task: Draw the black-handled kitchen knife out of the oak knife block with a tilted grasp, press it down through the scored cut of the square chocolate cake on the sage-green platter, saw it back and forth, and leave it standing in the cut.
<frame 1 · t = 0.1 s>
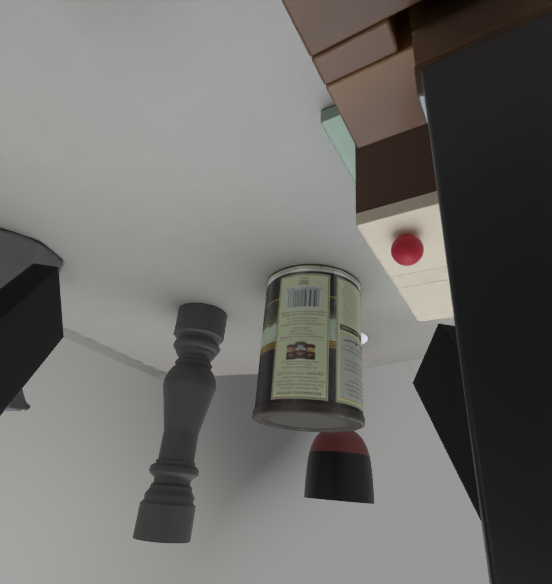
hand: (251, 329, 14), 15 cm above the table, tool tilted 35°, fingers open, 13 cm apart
cake platter: (488, 158, 25), on the table
candle holder: (203, 312, 52), on the table
cake: (490, 169, 25), resting on cake platter
coffee can: (313, 287, 43), on the table
coffeepot: (7, 246, 41), on the table
wineglass: (340, 337, 55), on the table
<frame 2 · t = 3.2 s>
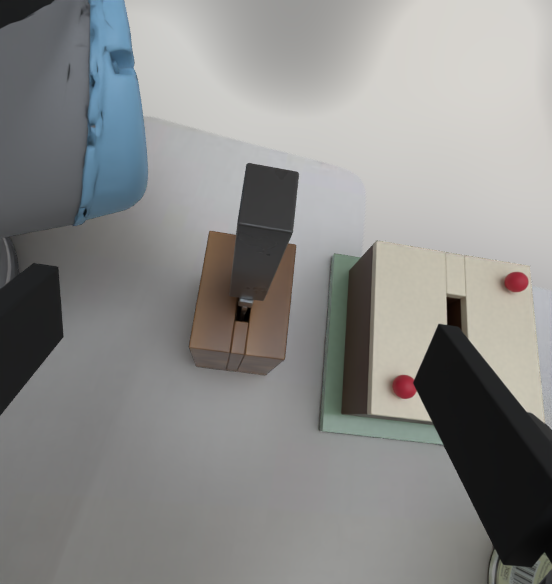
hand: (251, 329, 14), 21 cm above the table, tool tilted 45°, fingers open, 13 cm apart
cake platter: (409, 349, 37), on the table
cake: (414, 347, 36), resting on cake platter
knife block: (237, 325, 35), on the table
knife: (238, 323, 34), point 1 cm above the table, touching knife block
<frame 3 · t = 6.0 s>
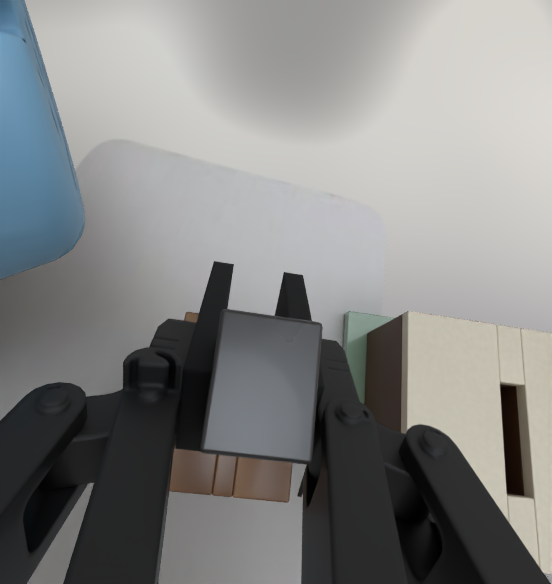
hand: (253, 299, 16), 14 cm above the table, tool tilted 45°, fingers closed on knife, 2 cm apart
cake platter: (442, 432, 30), on the table
cake: (449, 432, 29), resting on cake platter
knife block: (228, 406, 28), on the table
knife: (228, 406, 27), point 1 cm above the table, touching gripper, knife block
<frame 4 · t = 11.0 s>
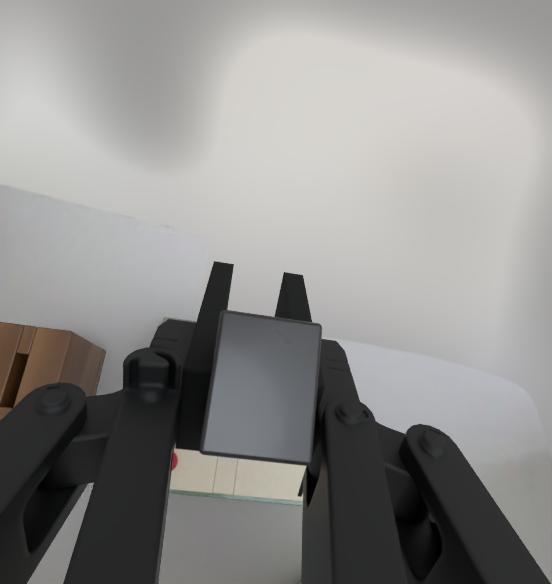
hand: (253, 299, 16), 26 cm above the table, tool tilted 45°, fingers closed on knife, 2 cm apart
cake platter: (230, 407, 40), on the table
cake: (231, 407, 39), resting on cake platter
knife block: (63, 388, 38), on the table
knife: (228, 406, 27), point 13 cm above the table, touching gripper
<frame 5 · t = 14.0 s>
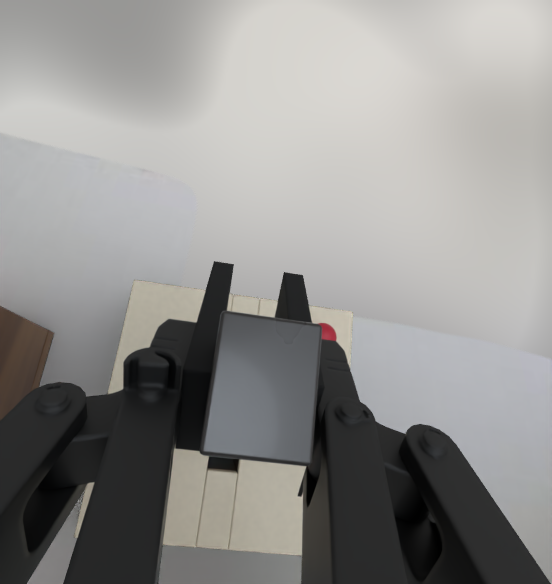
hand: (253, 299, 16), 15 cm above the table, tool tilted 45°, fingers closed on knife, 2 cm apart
cake: (227, 411, 28), resting on cake platter
knife: (228, 406, 27), point 2 cm above the table, touching gripper
when the fingers open (14 cm above the table, at t = 15.9 s): knife stays where it is, resting on cake platter.
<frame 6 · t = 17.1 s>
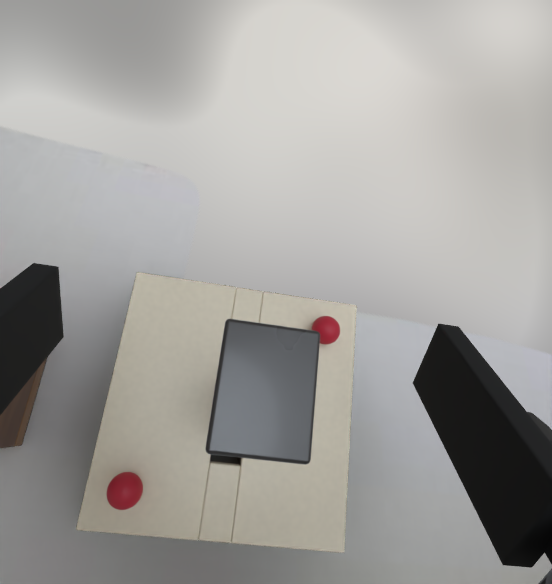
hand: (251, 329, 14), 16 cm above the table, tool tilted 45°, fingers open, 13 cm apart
cake: (229, 406, 28), resting on cake platter
knife: (230, 407, 28), point 1 cm above the table, touching cake platter
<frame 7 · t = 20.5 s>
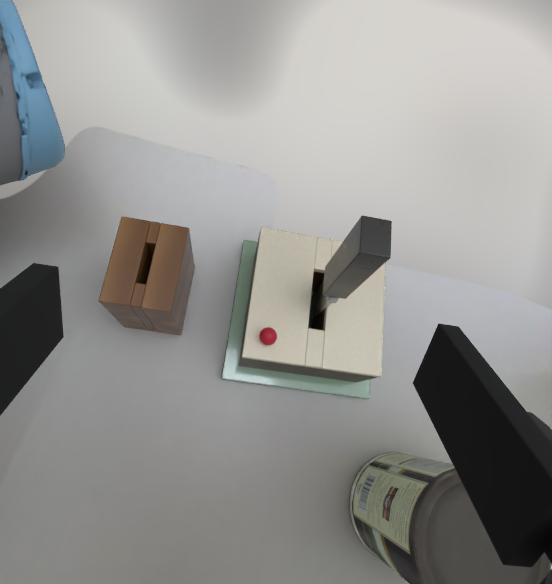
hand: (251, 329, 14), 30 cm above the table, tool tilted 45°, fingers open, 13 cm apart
cake platter: (302, 318, 45), on the table
cake: (304, 315, 45), resting on cake platter
coffee can: (396, 504, 41), on the table
knife block: (160, 295, 44), on the table
knife: (304, 316, 44), point 1 cm above the table, touching cake platter
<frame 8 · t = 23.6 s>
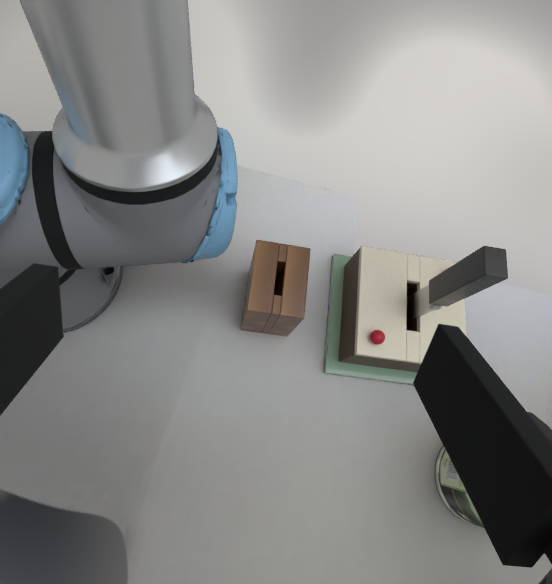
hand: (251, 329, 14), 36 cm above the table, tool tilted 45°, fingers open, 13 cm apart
cake platter: (386, 320, 53), on the table
cake: (389, 319, 52), resting on cake platter
coffee can: (473, 476, 49), on the table
knife block: (268, 303, 52), on the table
knife: (389, 319, 52), point 1 cm above the table, touching cake platter
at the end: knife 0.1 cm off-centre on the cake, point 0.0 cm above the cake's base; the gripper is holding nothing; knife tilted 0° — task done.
